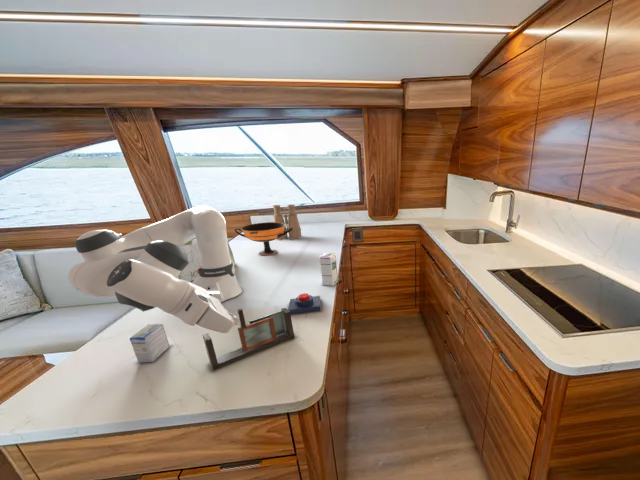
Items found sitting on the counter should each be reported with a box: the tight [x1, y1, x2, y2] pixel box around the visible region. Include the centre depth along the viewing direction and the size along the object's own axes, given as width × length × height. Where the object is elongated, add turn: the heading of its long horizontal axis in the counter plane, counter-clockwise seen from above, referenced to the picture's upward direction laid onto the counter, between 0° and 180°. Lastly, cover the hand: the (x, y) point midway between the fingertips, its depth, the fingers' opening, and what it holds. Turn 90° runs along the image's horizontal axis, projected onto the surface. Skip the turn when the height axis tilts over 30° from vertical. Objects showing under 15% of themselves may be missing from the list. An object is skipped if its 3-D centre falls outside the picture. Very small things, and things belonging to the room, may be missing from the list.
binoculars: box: [272, 204, 303, 240], centre depth 226 cm, size 21×10×25 cm, turn 93°
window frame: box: [201, 307, 295, 372], centre depth 92 cm, size 24×4×10 cm, turn 132°
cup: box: [234, 221, 293, 256], centre depth 190 cm, size 36×26×18 cm
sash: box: [236, 308, 277, 352], centre depth 91 cm, size 10×1×14 cm, turn 132°
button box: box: [287, 294, 321, 316], centre depth 120 cm, size 12×10×4 cm
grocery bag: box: [177, 238, 236, 282], centre depth 153 cm, size 32×14×23 cm, turn 4°
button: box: [297, 292, 310, 301], centre depth 119 cm, size 4×4×2 cm
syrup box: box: [318, 252, 339, 286], centre depth 141 cm, size 6×6×14 cm
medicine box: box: [129, 323, 170, 363], centre depth 91 cm, size 8×4×9 cm, turn 5°
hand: (237, 321), depth 87 cm, fingers closed, pressing on sash
